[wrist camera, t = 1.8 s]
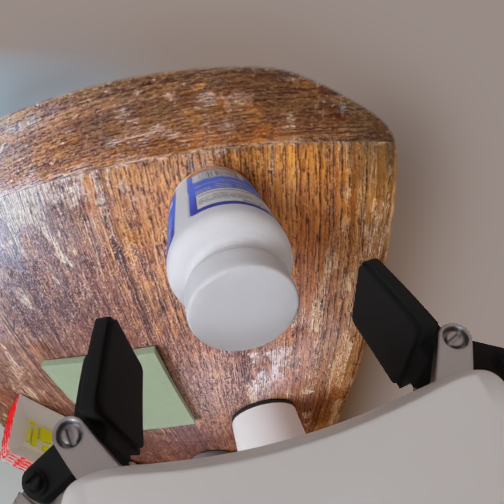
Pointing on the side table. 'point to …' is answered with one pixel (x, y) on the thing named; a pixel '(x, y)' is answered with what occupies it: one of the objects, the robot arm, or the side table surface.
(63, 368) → the mat
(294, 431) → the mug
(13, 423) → the red patterned cube box
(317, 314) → the side table surface
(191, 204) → the pill bottle
